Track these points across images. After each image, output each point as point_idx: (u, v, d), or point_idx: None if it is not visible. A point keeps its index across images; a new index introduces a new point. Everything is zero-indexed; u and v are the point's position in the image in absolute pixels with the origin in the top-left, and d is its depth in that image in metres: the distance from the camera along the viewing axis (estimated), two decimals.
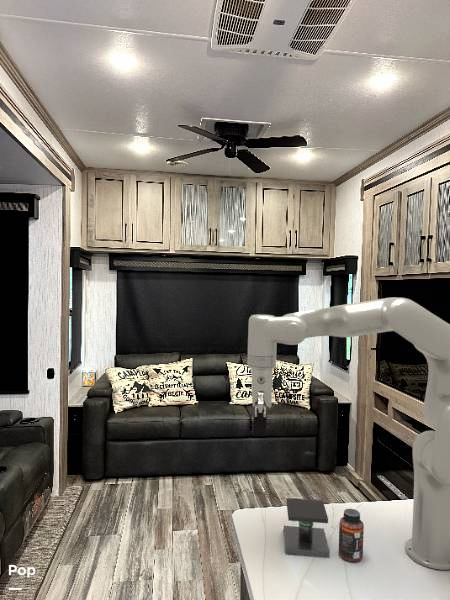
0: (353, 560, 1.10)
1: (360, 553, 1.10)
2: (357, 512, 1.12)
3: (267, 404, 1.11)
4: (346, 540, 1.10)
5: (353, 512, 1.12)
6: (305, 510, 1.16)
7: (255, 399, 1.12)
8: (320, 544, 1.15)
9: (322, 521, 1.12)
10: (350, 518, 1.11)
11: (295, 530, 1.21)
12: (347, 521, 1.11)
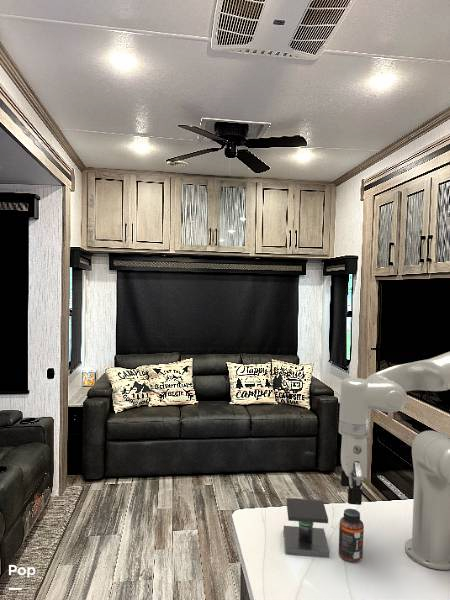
0: (353, 560, 1.10)
1: (360, 553, 1.10)
2: (357, 512, 1.12)
3: (363, 475, 1.07)
4: (346, 540, 1.10)
5: (353, 512, 1.12)
6: (305, 510, 1.16)
7: (350, 469, 1.07)
8: (320, 544, 1.15)
9: (322, 521, 1.12)
10: (350, 518, 1.11)
11: (295, 530, 1.21)
12: (347, 521, 1.11)
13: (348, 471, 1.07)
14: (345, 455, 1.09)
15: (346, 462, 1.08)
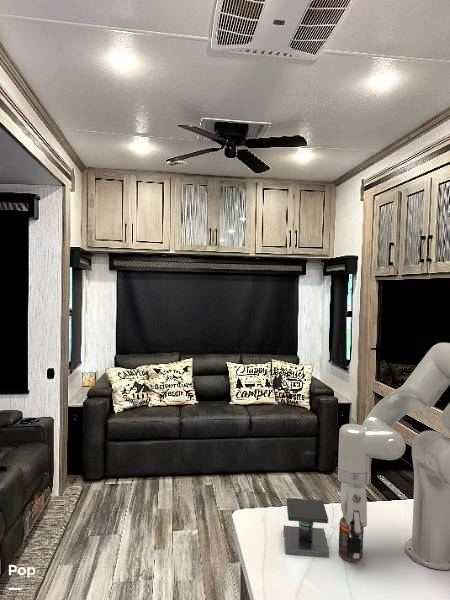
0: (353, 560, 1.10)
1: (360, 553, 1.10)
2: None
3: (363, 524, 1.07)
4: (346, 540, 1.10)
5: None
6: (305, 510, 1.16)
7: (350, 518, 1.07)
8: (320, 544, 1.15)
9: (322, 521, 1.12)
10: None
11: (295, 530, 1.21)
12: None
13: (348, 520, 1.08)
14: (345, 503, 1.10)
15: (346, 510, 1.09)
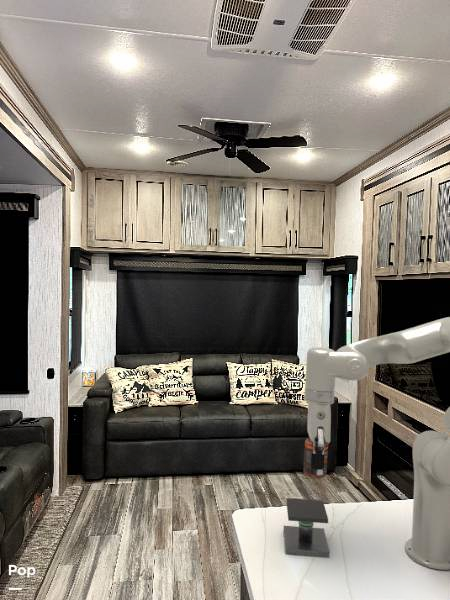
0: (316, 476, 1.13)
1: (323, 470, 1.13)
2: None
3: (326, 440, 1.10)
4: (310, 458, 1.13)
5: None
6: (305, 510, 1.16)
7: (314, 434, 1.11)
8: (320, 544, 1.15)
9: (322, 521, 1.12)
10: None
11: (295, 530, 1.21)
12: None
13: (312, 436, 1.11)
14: (310, 421, 1.13)
15: (310, 428, 1.12)
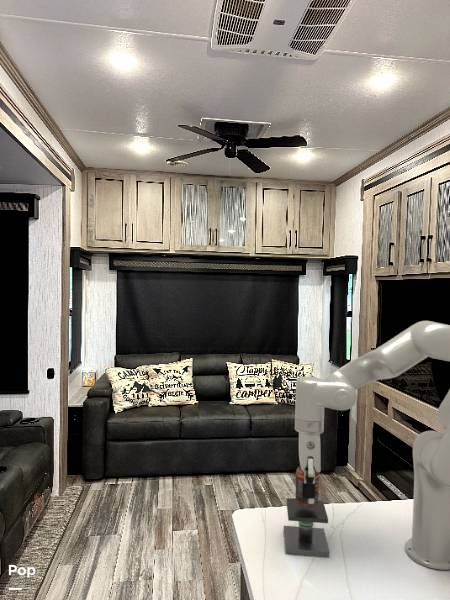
0: (308, 505, 1.14)
1: (314, 499, 1.15)
2: None
3: (317, 469, 1.12)
4: None
5: None
6: (305, 510, 1.16)
7: (304, 464, 1.12)
8: (320, 544, 1.15)
9: (322, 521, 1.12)
10: None
11: (295, 530, 1.21)
12: None
13: (302, 466, 1.12)
14: (300, 451, 1.14)
15: (301, 457, 1.13)
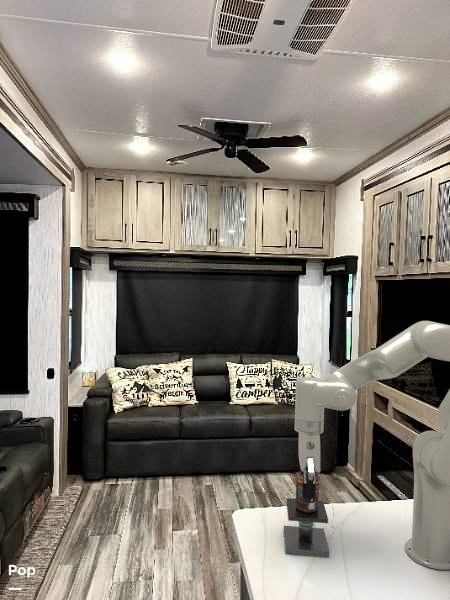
0: (308, 511, 1.15)
1: (315, 504, 1.15)
2: None
3: (316, 470, 1.12)
4: None
5: None
6: None
7: (304, 465, 1.12)
8: (320, 544, 1.15)
9: (322, 521, 1.12)
10: None
11: (295, 530, 1.21)
12: (303, 474, 1.16)
13: (302, 466, 1.12)
14: (300, 451, 1.14)
15: (301, 458, 1.13)
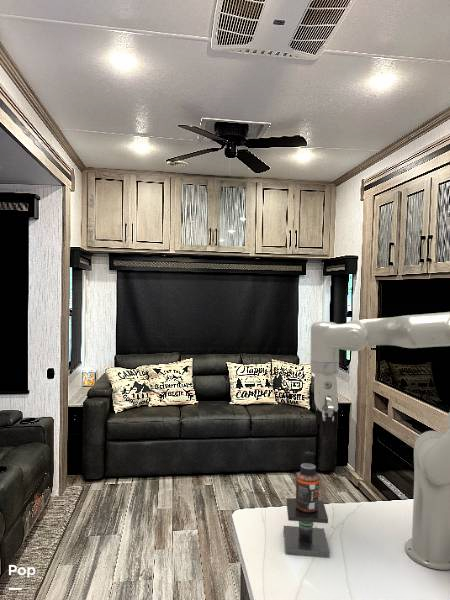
0: (308, 511, 1.15)
1: (315, 504, 1.15)
2: (313, 466, 1.17)
3: (334, 408, 1.16)
4: (302, 492, 1.15)
5: (309, 466, 1.17)
6: None
7: (322, 404, 1.16)
8: (320, 544, 1.15)
9: (322, 521, 1.12)
10: (306, 470, 1.15)
11: (295, 530, 1.21)
12: (303, 474, 1.16)
13: (320, 405, 1.16)
14: (317, 392, 1.18)
15: (318, 398, 1.17)
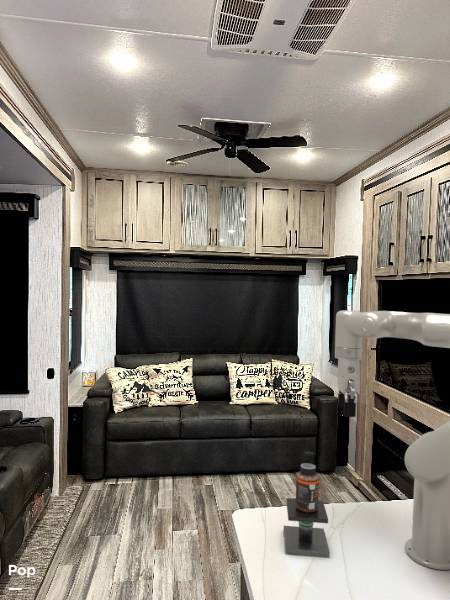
0: (308, 511, 1.15)
1: (315, 504, 1.15)
2: (313, 466, 1.17)
3: (356, 391, 1.23)
4: (302, 492, 1.15)
5: (309, 466, 1.17)
6: None
7: (345, 387, 1.23)
8: (320, 544, 1.15)
9: (322, 521, 1.12)
10: (306, 471, 1.15)
11: (295, 530, 1.21)
12: (303, 474, 1.16)
13: (343, 388, 1.24)
14: (341, 376, 1.26)
15: (341, 381, 1.25)
